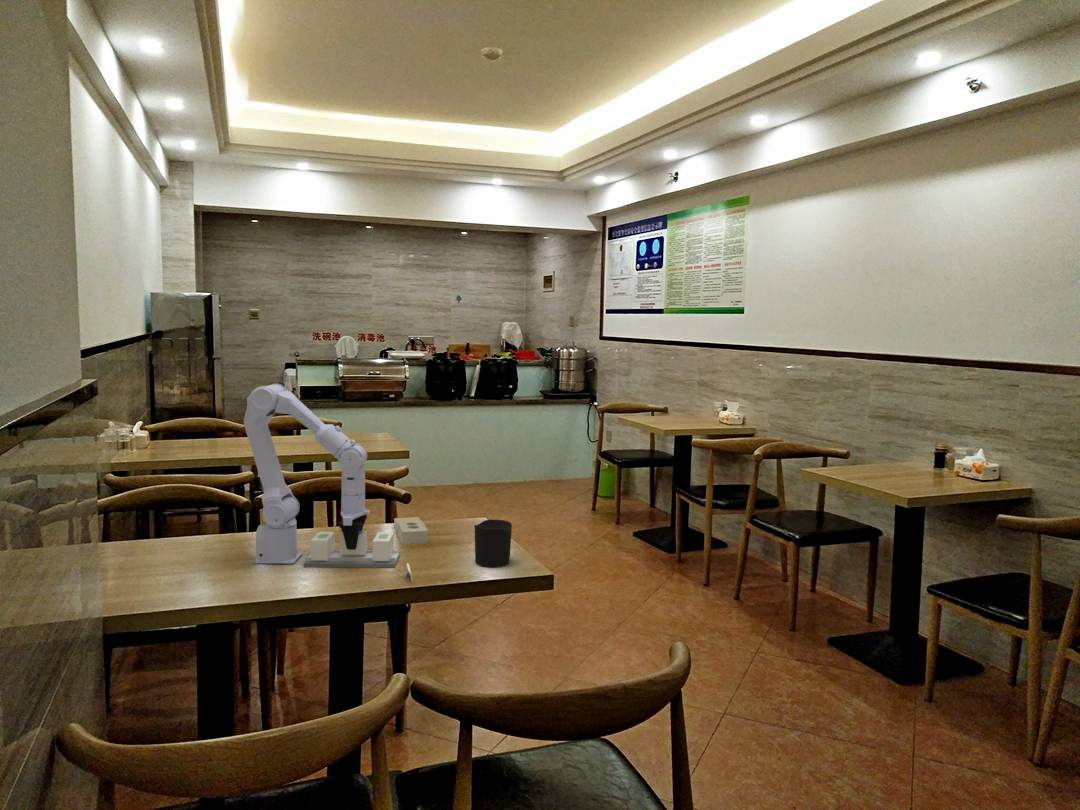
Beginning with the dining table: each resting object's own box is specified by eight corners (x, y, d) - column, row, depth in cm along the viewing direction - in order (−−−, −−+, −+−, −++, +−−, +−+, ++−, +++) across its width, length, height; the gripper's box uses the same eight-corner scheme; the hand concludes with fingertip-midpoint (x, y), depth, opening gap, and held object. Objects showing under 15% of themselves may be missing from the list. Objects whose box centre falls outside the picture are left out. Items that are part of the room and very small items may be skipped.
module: (339, 554, 186) (339, 534, 185) (343, 549, 190) (343, 530, 189) (364, 554, 186) (364, 534, 185) (367, 550, 190) (367, 530, 189)
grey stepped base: (303, 567, 182) (303, 540, 182) (314, 554, 192) (313, 529, 192) (394, 567, 184) (394, 541, 183) (400, 555, 193) (400, 530, 193)
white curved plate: (396, 585, 172) (396, 573, 172) (394, 574, 180) (394, 562, 180) (412, 584, 173) (412, 572, 173) (409, 573, 181) (409, 561, 181)
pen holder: (516, 566, 187) (517, 527, 186) (480, 570, 184) (481, 530, 183) (503, 555, 196) (504, 518, 195) (469, 559, 192) (469, 521, 191)
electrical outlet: (418, 513, 223) (428, 529, 206) (418, 527, 223) (428, 543, 206) (394, 515, 220) (402, 531, 203) (394, 528, 221) (402, 545, 204)
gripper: (364, 500, 179) (364, 555, 181) (374, 487, 194) (374, 538, 195) (334, 499, 179) (334, 554, 180) (346, 487, 193) (347, 538, 195)
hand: (353, 546), depth 188 cm, fingers closed on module, 4 cm apart
